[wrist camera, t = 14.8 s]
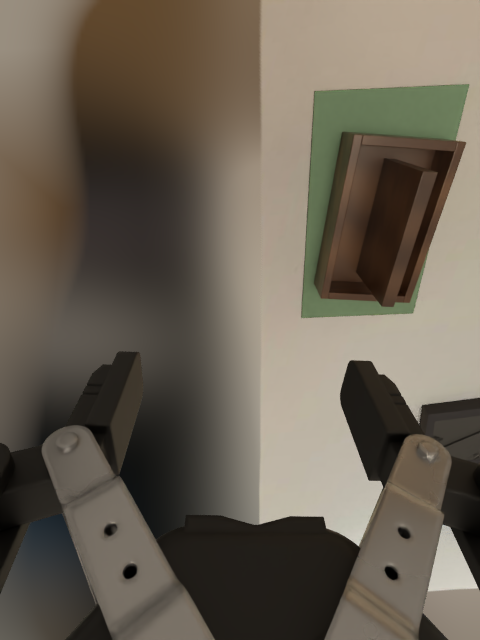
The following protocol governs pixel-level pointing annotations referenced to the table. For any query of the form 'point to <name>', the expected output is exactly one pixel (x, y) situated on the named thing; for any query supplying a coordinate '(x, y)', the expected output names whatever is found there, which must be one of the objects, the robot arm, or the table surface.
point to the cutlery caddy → (383, 215)
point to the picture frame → (454, 427)
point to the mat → (328, 124)
